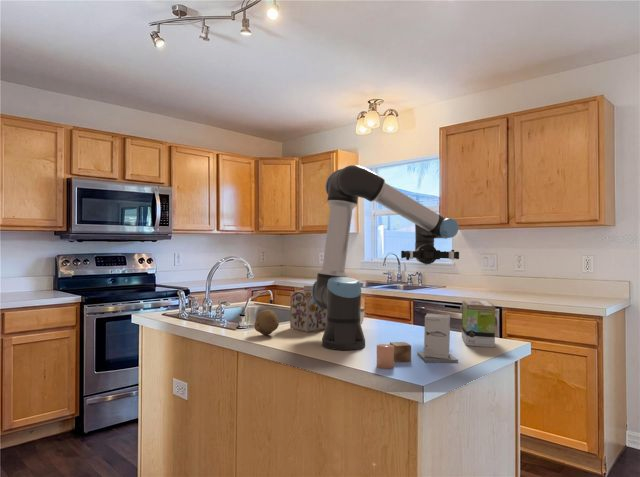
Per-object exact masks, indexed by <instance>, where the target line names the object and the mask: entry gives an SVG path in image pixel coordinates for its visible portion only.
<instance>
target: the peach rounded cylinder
mask: <svg viewBox="0 0 640 477" xmlns="http://www.w3.org/2000/svg"><path fill="white" fill-rule="evenodd" d="M376 367H377V368H378V369H381V370H382V369H383V370H391V369H392V370H393V369H394V368H395V362H394V346H393V345H390V343H389V344H388V343H379V344H377V345H376Z"/></svg>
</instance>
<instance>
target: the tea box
mask: <svg viewBox="0 0 640 477" xmlns="http://www.w3.org/2000/svg"><path fill="white" fill-rule="evenodd" d="M461 305H462V306H461V307H462V308H461V310H462V312H461V339H462V340H463V342H464V343H465V345H466V346H468V347H469V346H470V347H483V348H484V347H487V348H494V347H495V343H496V342H495V341H496V340H495V339H496V305H494V304H492V303H491V302H490V301H488V300H487V301H486V300H465V299H464V300H462V304H461Z"/></svg>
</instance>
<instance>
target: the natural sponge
mask: <svg viewBox="0 0 640 477" xmlns="http://www.w3.org/2000/svg"><path fill="white" fill-rule="evenodd" d="M279 325H280V323H279V317H278V315H277V314H276V313H275V311H273V310H271V309H264V310H262V311H260V312H259V313H258V315H257V316H256V319H255V322H254V329H255V331H256V332H258V333H259V334H262V335H263V336H270V335H271V334H272V333H273V332H274V331H276V330H277V329H278V327H279Z"/></svg>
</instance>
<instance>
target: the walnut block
mask: <svg viewBox="0 0 640 477" xmlns="http://www.w3.org/2000/svg"><path fill="white" fill-rule="evenodd" d="M389 345H393V346H394V363H409V362H410V363H411V362H412V344H410V343H408V342H406V341H392V342H391V341H389Z"/></svg>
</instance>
